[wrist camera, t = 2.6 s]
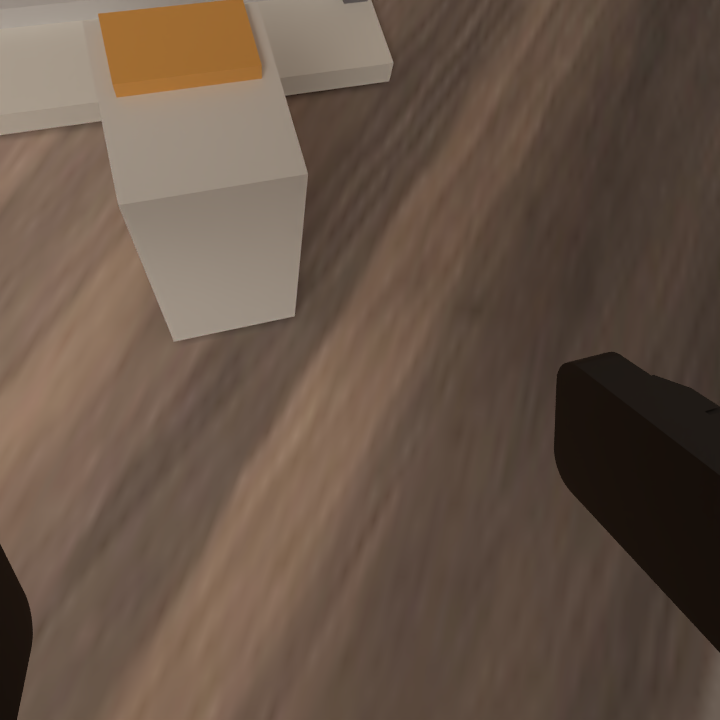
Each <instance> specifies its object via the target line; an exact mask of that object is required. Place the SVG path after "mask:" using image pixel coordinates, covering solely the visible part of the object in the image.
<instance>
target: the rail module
mask: <svg viewBox="0 0 720 720" xmlns="http://www.w3.org/2000/svg"><path fill="white" fill-rule="evenodd" d="M98 17H99V20H95V21H86V22H82V24H83V29H84V34H85V39H86V44H87V49H88V54H89V59H90V64H91V70H92V75H93V80H94V85H95V90H96V95H97V100H98V105H99V110H100V115H101V120H102V125H103V130H104V135H105V140H106V145H107V151H108V156H109V161H110V166H111V171H112V176H113V181H114V186H115V191H116V196H117V201H118V206H119V208H120V211H121V213H122V216H123V218H124V220H125V223H126V225H127V228H128V230H129V233H130V235H131V238H132V240H133V242H134V245H135V247H136V250H137V252H138V255H139V257H140V260H141V262H142V264H143V267H144V269H145V272H146V274H147V277H148V279H149V282H150V284H151V286H152V289H153V291H154V294H155V296H156V299H157V301H158V304H159V306H160V308H161V311H162V313H163V316H164V318H165V321H166V323H167V326H168V328H169V330H170V333H171V335H172V338H173V340H174V342H175V341H179V340H184V339H189V338H194V337H198V336H203V335H208V334H212V333H217V332H222V331H227V330H231V329H236V328H241V327H246V326H250V325H255V324H260V323H265V322H269V321H274V320H279V319H284V318H288V317H293V316H295V307H296V297H297V286H298V276H299V265H300V254H301V244H302V233H303V223H304V212H305V201H306V191H307V180H308V172H307V169H306V165H305V162H304V158H303V155H302V152H301V148H300V145H299V141H298V138H297V135H296V131H295V128H294V125H293V121H292V118H291V114H290V111H289V108H288V104H287V101H286V97H285V94H284V91H283V87H282V84H281V80H280V77H279V74H278V70H277V67H276V63H275V60H274V57H273V53H272V50H271V47H270V43H269V40H268V36H267V33H266V30H265V26H264V23H263V19H262V16H261V13H260V9H259V6H258V3H254V4H244V2H243V0H223V1H214V2H204V3H195V4H185V5H176V6H166V7H157V8H147V9H138V10H128V11H118V12H109V13H99V14H98Z"/></svg>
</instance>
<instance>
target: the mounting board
mask: <svg viewBox="0 0 720 720" xmlns="http://www.w3.org/2000/svg"><path fill="white" fill-rule="evenodd" d="M214 1H223V0H0V135H4V134H12V133H19V132H26V131H33V130H41V129H48V128H55V127H62V126H70V125H77V124H84V123H91V122H98V121H102V120H101V115H100V110H99V105H98V100H97V95H96V90H95V85H94V80H93V75H92V70H91V64H90V59H89V54H88V49H87V44H86V39H85V34H84V29H83V24H82V22H86V21H95V20H99V17H98V14H99V13H109V12H118V11H128V10H138V9H147V8H157V7H166V6H176V5H185V4H195V3H204V2H214ZM243 2H244V4H254V3H258V6H259V9H260V13H261V16H262V19H263V23H264V26H265V30H266V33H267V36H268V40H269V43H270V47H271V50H272V53H273V57H274V60H275V63H276V67H277V70H278V74H279V77H280V80H281V84H282V87H283V91H284V94H285V96H286V95H294V94H301V93H308V92H315V91H323V90H330V89H337V88H344V87H352V86H359V85H366V84H373V83H380V82H388V81H389V80H390V76H391V72H392V68H393V60H392V57H391V54H390V52H389V49H388V46H387V43H386V40H385V38H384V35H383V32H382V29H381V26H380V24H379V21H378V18H377V15H376V12H375V10H374V7H373V4H372V1H371V0H243Z"/></svg>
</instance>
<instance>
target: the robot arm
mask: <svg viewBox="0 0 720 720" xmlns="http://www.w3.org/2000/svg"><path fill="white" fill-rule="evenodd" d="M554 454H555V460H556V464H557V468H558V471H559V473H560V475H561V478H562V480H563V481H564V483H565V485H566V486H567V488H568V489H569V490H570V491H571V492H572V493H573V495H574V496H575V497H576V498H577V499H578V500H579V501H580V502H581V503H582V504H583V505H584V506H585V508H586V509H587V510H588V511H589V512H590V513H591V514H592V515H593V516H594V517H595V518H596V519H597V520H598V522H599V523H600V524H601V525H602V526H603V527H604V528H605V529H606V530H607V531H608V532H609V533H610V535H611V536H612V537H613V538H614V539H615V540H616V541H617V542H618V543H619V544H620V545H621V546H622V547H623V549H624V550H625V551H626V552H627V553H628V554H629V555H630V556H631V557H632V558H633V559H634V560H635V561H636V563H637V564H638V565H639V566H640V567H641V568H642V569H643V570H644V571H645V572H646V573H647V574H648V576H649V577H650V578H651V579H652V580H653V581H654V582H655V583H656V584H657V585H658V586H659V587H660V588H661V590H662V591H663V592H664V593H665V594H666V595H667V596H668V597H669V598H670V599H671V600H672V601H673V603H674V604H675V605H676V606H677V607H678V608H679V609H680V610H681V611H682V612H683V613H684V614H685V615H686V617H687V618H688V619H689V620H690V621H691V622H692V623H693V624H694V625H695V626H696V627H697V628H698V630H699V631H700V632H701V633H702V634H703V635H704V636H705V637H706V638H707V639H708V640H709V641H710V642H711V644H712V645H713V646H714V647H715V648H716V649H717V650H718V651H719V652H720V407H719V406H718V405H716V404H715V403H713V402H712V401H710V400H709V399H707V398H706V397H704V396H702V395H701V394H699V393H698V392H696V391H695V390H693V389H692V388H689V387H687V386H684V385H681V384H678V383H675V382H672V381H669V380H667V379H664V378H661V377H658V376H655V375H652V376H651V375H650V374H648V373H647V372H645V371H644V370H642V369H641V368H639V367H638V366H636V365H635V364H633V363H632V362H630V361H629V360H627V359H626V358H624V357H623V356H621V355H620V354H618V353H615V352H607V353H603V354H599V355H595V356H591V357H587V358H583V359H579V360H575V361H571V362H567V363H564V364H563V365H562V366H561V367H560V369H559V371H558V374H557V384H556V410H555V437H554ZM32 638H33V628H32V617H31V612H30V607H29V603H28V600H27V598H26V595H25V593H24V591H23V589H22V587H21V585H20V583H19V581H18V579H17V577H16V575H15V573H14V571H13V569H12V567H11V565H10V563H9V561H8V559H7V557H6V555H5V553H4V551H3V549H2V547H1V545H0V720H17V716H18V711H19V706H20V701H21V697H22V692H23V687H24V682H25V677H26V672H27V667H28V662H29V657H30V652H31V647H32Z"/></svg>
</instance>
